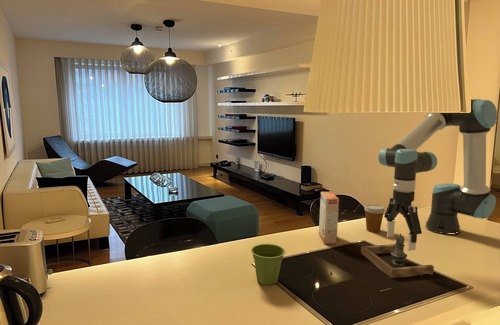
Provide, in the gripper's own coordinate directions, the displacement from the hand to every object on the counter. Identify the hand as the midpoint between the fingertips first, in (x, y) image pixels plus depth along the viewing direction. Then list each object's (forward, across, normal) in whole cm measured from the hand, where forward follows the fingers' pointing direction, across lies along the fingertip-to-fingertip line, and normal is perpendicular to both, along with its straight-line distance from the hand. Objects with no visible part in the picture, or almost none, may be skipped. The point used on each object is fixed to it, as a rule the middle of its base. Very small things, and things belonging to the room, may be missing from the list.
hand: (400, 243), depth 140 cm
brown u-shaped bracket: (+8, 0, -2) cm, 8 cm away
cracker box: (+8, -29, -18) cm, 35 cm away
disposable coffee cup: (+9, -36, +9) cm, 38 cm away
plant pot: (+7, +5, -55) cm, 55 cm away
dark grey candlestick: (+8, 0, 0) cm, 8 cm away
